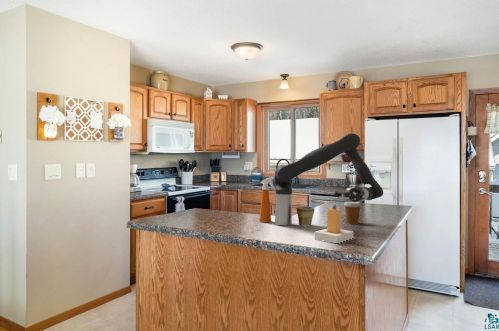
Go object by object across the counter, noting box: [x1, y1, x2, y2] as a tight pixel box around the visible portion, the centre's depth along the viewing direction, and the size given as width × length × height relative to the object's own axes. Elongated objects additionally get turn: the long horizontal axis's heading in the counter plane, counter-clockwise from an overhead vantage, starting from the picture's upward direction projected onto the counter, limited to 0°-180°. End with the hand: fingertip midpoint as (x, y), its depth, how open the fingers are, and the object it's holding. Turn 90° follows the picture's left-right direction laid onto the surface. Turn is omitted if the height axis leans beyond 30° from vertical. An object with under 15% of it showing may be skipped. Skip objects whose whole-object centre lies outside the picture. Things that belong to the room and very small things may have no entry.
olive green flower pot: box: [295, 205, 316, 228], centre depth 194 cm, size 13×10×10 cm
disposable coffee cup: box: [343, 200, 362, 225], centre depth 200 cm, size 10×10×12 cm
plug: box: [326, 204, 342, 234], centre depth 162 cm, size 4×4×16 cm
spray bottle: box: [258, 176, 276, 223], centre depth 202 cm, size 7×11×26 cm, turn 57°
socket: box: [314, 228, 354, 244], centre depth 163 cm, size 14×12×4 cm
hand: (342, 196), depth 174 cm, fingers open, 8 cm apart
